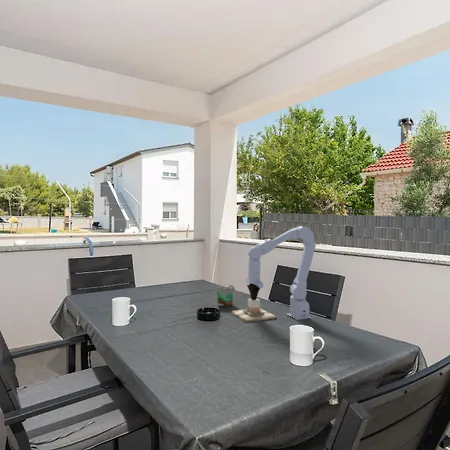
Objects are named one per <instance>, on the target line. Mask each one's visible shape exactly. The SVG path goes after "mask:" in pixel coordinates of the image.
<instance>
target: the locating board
mask: <svg viewBox="0 0 450 450" xmlns="http://www.w3.org/2000/svg"><path fill="white" fill-rule="evenodd" d="M232 313H233V314H232ZM231 314H232V315H233V316H235V315H236V318H238V317H239V319H240V320H241V319H242V320H241V321H243V322H244V321H245V322H244V323H246V322H247V323H254V322H253V321H255V322H262V321H261V320H263V321H269V320H268V319H272V320H276V319H277V315H275V314H272V313H270V312H269V311H267V310H266V309H265V310H264V309H263V308H261V307H260V312H259V313H249V312H248V308H246V309H239V310H231ZM275 318H276V319H275Z"/></svg>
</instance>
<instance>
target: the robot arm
mask: <svg viewBox="0 0 450 450" xmlns="http://www.w3.org/2000/svg"><path fill="white" fill-rule="evenodd" d="M291 239H297V240H299V241H300V242H301V244H303V246H304V247H303V251H302V254H301V257H300V262H299V266H298V269H297V273H296V276H295V278H294V280H293V283H292V284H291V285H290V286H289V292H290V294H291V295H290V298H289V299H290V300H289V301H290V302H289V305H290V306H289V313H286V314H287V315H286V316H288V315H289V316H288V317H290V316H291V318H292V317H293V318H292V319H294V318H295V319H294V320H295V321H296V320H297V321H300V320H308V318H309V319H311V316H310V303H309V302H308V301H307V299H306V297H307V295H308V292H307V286H308V284H307V279H308V276H309V273H310V269H311V265H312V260H313V257H314V253H315V250H316V241H315V238H314V232H313V231H312V230H311V229H310V228H309V227H307V226H303V225H298V226H296V227H293V228H291V229H289V230H288V231H285V232H284V233H282V234H281V235H279V236H277V237H275V238H273V239H271V238H268V239H267V238H265V239H264V240H263V241H262V242H260V243H258V244H255V246H251V247H250V248H249V249H248V252H247V254H248V256H249V257H248V276H247V277H246V278H245V282H246V283H247V286H246V287H247V288H248V291H249V296H250V298H251V299H252V300H256V299H258V295H259V292H260V290H261V289H262V288H264V283H263V282H262V281H261V258H262V256H265V255H267V254H269V253H270V252H272V251H274V250H275V249H276V247H277V246H278V245H280V244H283V243H284V242H286V241H288V240H291Z"/></svg>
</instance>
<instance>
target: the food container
mask: <svg viewBox="0 0 450 450" xmlns="http://www.w3.org/2000/svg"><path fill="white" fill-rule="evenodd" d="M235 291H236V289H235V286H234V285H231V284H229V286H227V287H226V286H223V287H222V288H219V287H217V288H216V294H217V296H216V297H217V307H218V306H219V308H229V307H228V306H230V307H232V306H233V303H234V302H233V300H234V292H235Z"/></svg>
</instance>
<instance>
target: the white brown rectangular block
mask: <svg viewBox="0 0 450 450" xmlns="http://www.w3.org/2000/svg"><path fill="white" fill-rule="evenodd" d="M260 308H261V300H260V299H259V298H257V299H256V300H252V299H251V297H250V298H247V309H248V312H249V313H259V312H260Z"/></svg>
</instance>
